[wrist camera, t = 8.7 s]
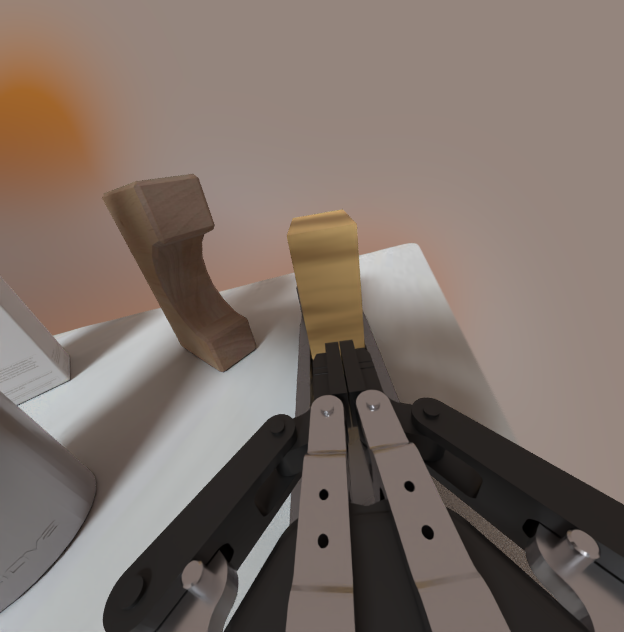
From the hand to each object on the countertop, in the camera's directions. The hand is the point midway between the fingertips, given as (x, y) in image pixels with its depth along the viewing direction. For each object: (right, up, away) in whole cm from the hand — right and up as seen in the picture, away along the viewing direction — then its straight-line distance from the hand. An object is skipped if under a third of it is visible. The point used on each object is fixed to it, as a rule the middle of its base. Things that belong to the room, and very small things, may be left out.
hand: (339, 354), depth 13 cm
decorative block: (-14, -2, +20) cm, 25 cm away
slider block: (+1, -2, +14) cm, 15 cm away
